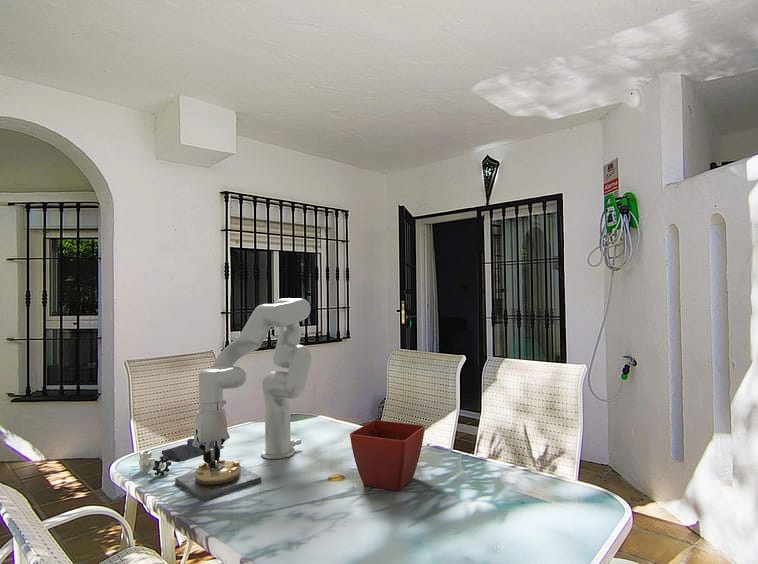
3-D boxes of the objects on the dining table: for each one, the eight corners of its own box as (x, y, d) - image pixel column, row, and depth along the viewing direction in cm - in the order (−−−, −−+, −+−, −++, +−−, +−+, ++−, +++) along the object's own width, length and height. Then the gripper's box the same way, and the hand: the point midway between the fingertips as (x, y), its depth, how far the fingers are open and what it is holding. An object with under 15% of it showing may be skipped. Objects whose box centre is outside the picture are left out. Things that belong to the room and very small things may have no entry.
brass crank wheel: (247, 476, 157) (247, 453, 157) (204, 488, 148) (204, 463, 148) (230, 465, 168) (229, 443, 168) (189, 475, 159) (189, 452, 159)
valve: (133, 472, 168) (153, 479, 162) (133, 453, 168) (153, 459, 162) (150, 466, 174) (171, 473, 167) (150, 448, 174) (171, 453, 168)
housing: (232, 467, 172) (232, 459, 172) (261, 482, 158) (261, 473, 158) (175, 483, 158) (175, 474, 158) (201, 501, 144) (201, 492, 144)
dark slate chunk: (155, 457, 186) (155, 444, 186) (204, 442, 204) (204, 430, 204) (178, 464, 177) (178, 451, 177) (228, 448, 195) (228, 436, 195)
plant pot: (426, 475, 161) (425, 424, 161) (405, 498, 144) (404, 440, 144) (375, 467, 169) (374, 419, 169) (349, 488, 152) (348, 434, 152)
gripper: (227, 400, 171) (228, 452, 170) (182, 409, 159) (183, 465, 159) (238, 403, 165) (239, 457, 165) (192, 413, 154) (193, 471, 154)
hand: (211, 461), depth 162 cm, fingers closed on brass crank wheel, 2 cm apart
